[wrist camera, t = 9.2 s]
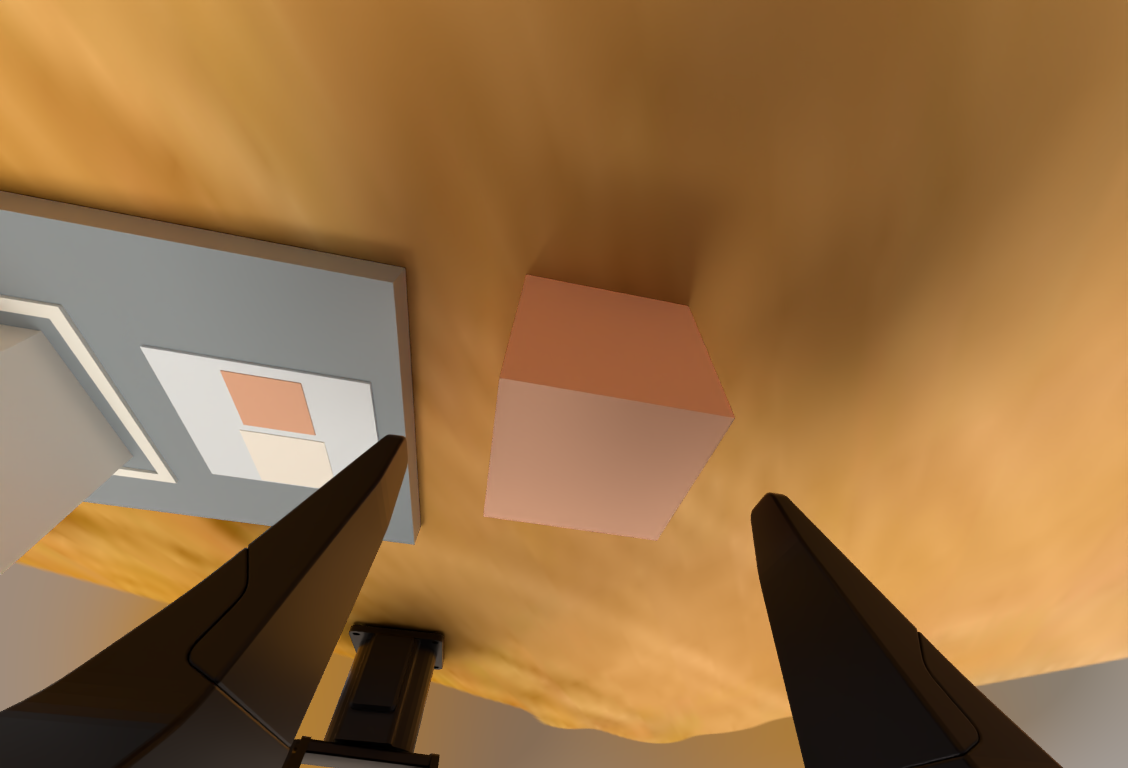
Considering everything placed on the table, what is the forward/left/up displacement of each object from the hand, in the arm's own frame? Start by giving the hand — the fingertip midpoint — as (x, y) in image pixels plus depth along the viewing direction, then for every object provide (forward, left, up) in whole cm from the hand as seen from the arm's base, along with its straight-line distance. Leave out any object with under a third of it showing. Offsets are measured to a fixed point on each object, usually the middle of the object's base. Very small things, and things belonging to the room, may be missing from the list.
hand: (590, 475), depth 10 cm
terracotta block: (0, 0, -5) cm, 5 cm away
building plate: (-5, +16, -5) cm, 17 cm away
